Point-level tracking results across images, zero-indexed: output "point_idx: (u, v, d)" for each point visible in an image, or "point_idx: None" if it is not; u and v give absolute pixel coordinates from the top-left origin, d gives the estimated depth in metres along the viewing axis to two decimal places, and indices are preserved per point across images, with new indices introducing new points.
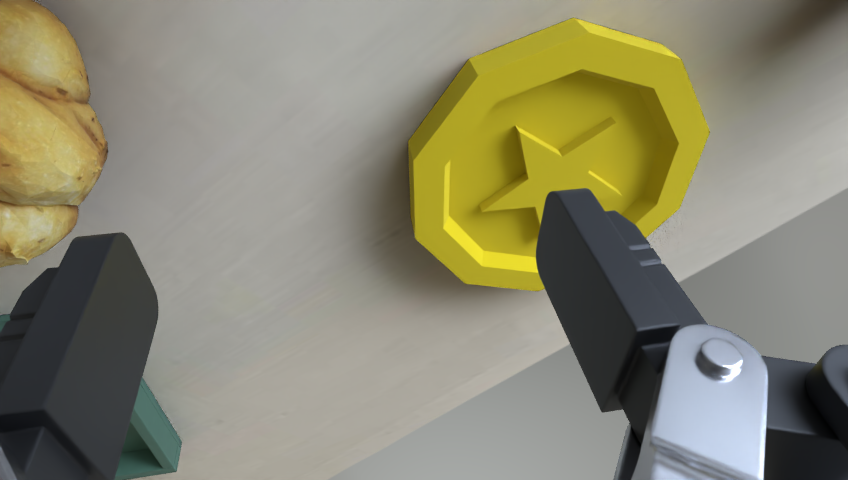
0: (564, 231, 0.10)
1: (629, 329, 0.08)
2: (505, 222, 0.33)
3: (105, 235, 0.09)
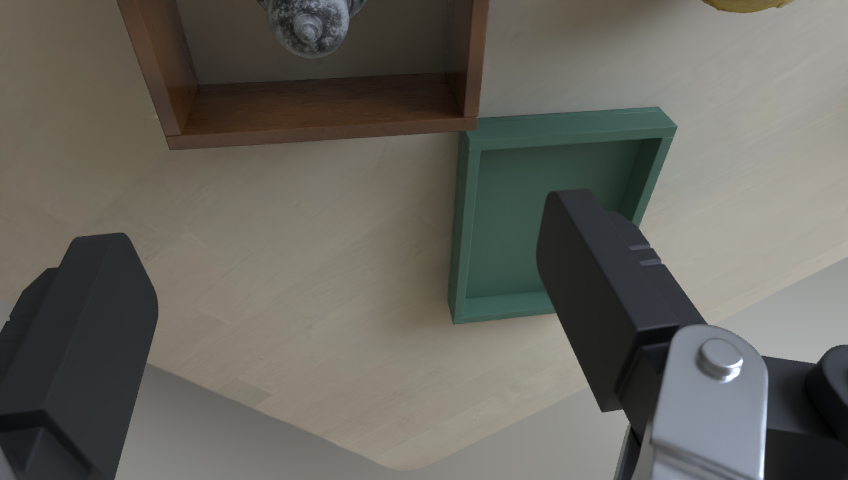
0: (564, 231, 0.10)
1: (629, 329, 0.08)
2: None
3: (105, 235, 0.09)
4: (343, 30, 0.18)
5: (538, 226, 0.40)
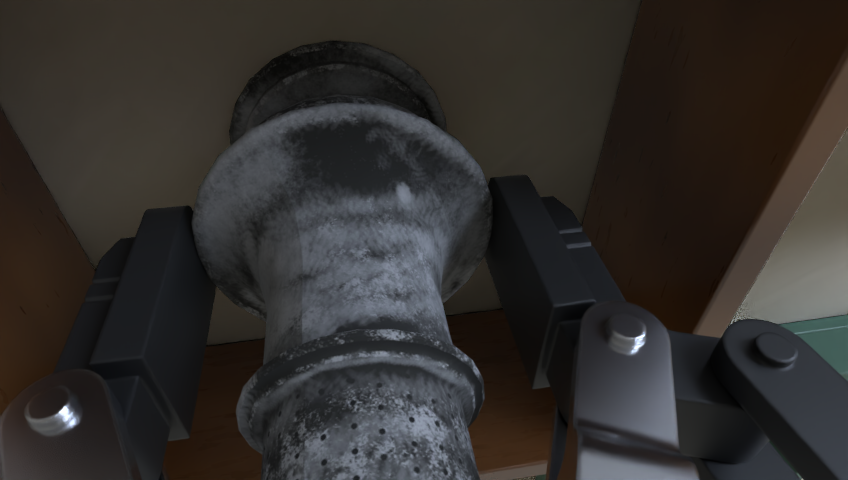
0: (501, 216, 0.10)
1: (548, 306, 0.08)
2: None
3: (175, 207, 0.10)
4: None
5: None
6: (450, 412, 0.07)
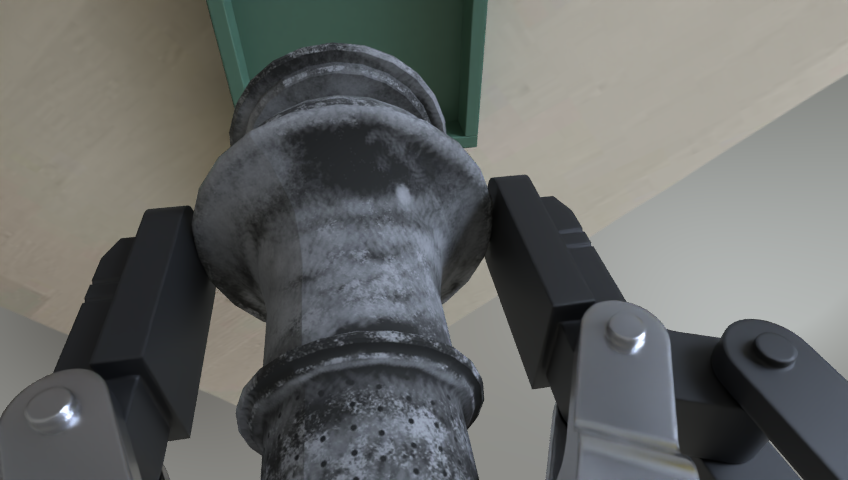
0: (501, 215, 0.10)
1: (548, 305, 0.08)
2: None
3: (175, 207, 0.10)
4: None
5: (347, 2, 0.28)
6: (449, 412, 0.07)
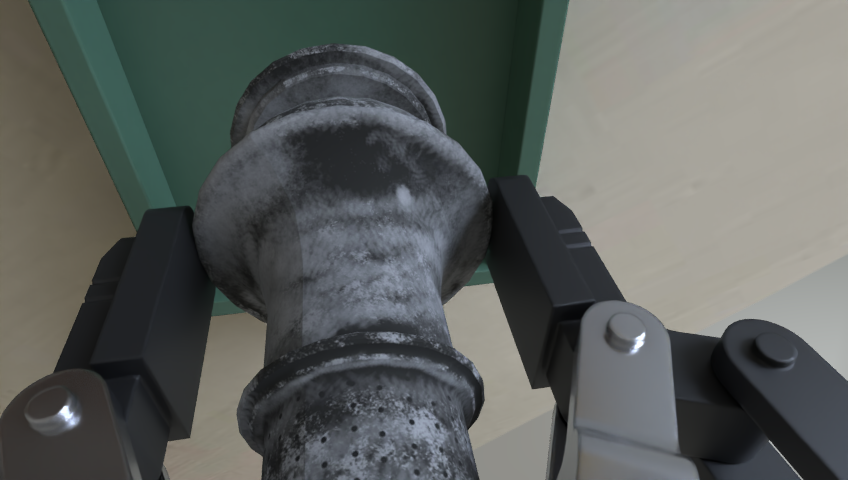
0: (501, 215, 0.10)
1: (548, 306, 0.08)
2: None
3: (175, 207, 0.10)
4: None
5: None
6: (450, 413, 0.07)
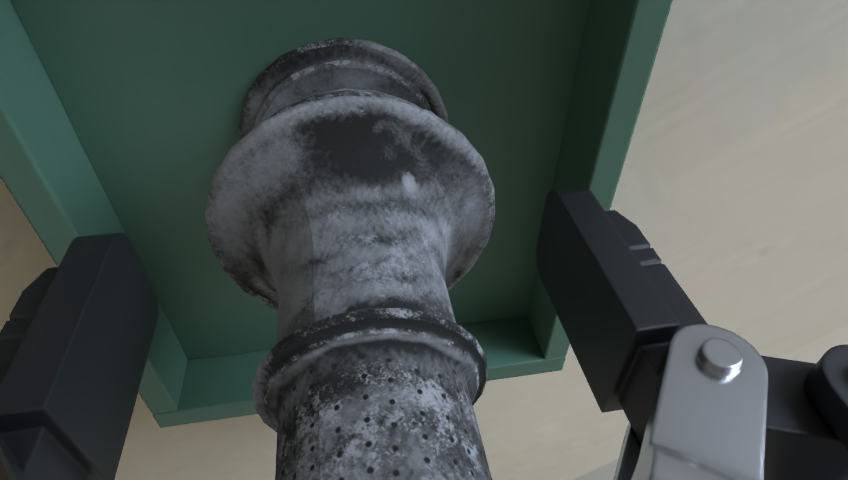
0: (564, 231, 0.10)
1: (629, 329, 0.08)
2: None
3: (105, 235, 0.09)
4: None
5: None
6: (456, 385, 0.07)
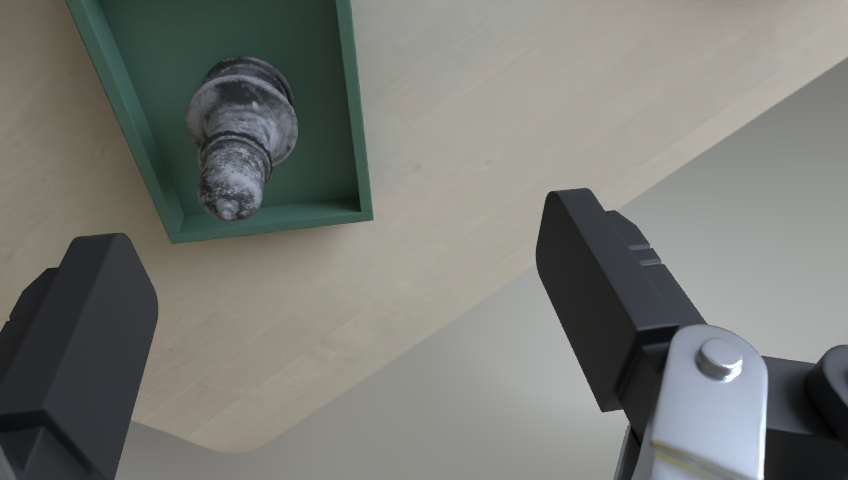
0: (564, 231, 0.10)
1: (629, 329, 0.08)
2: None
3: (105, 235, 0.09)
4: (257, 203, 0.24)
5: None
6: (253, 153, 0.25)
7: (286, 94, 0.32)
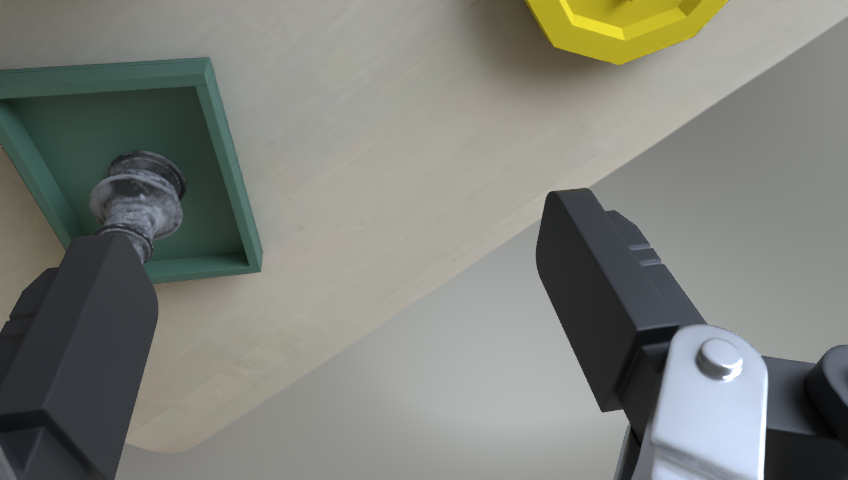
0: (564, 231, 0.10)
1: (629, 329, 0.08)
2: None
3: (105, 235, 0.09)
4: None
5: None
6: (133, 241, 0.33)
7: (178, 178, 0.39)
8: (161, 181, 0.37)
